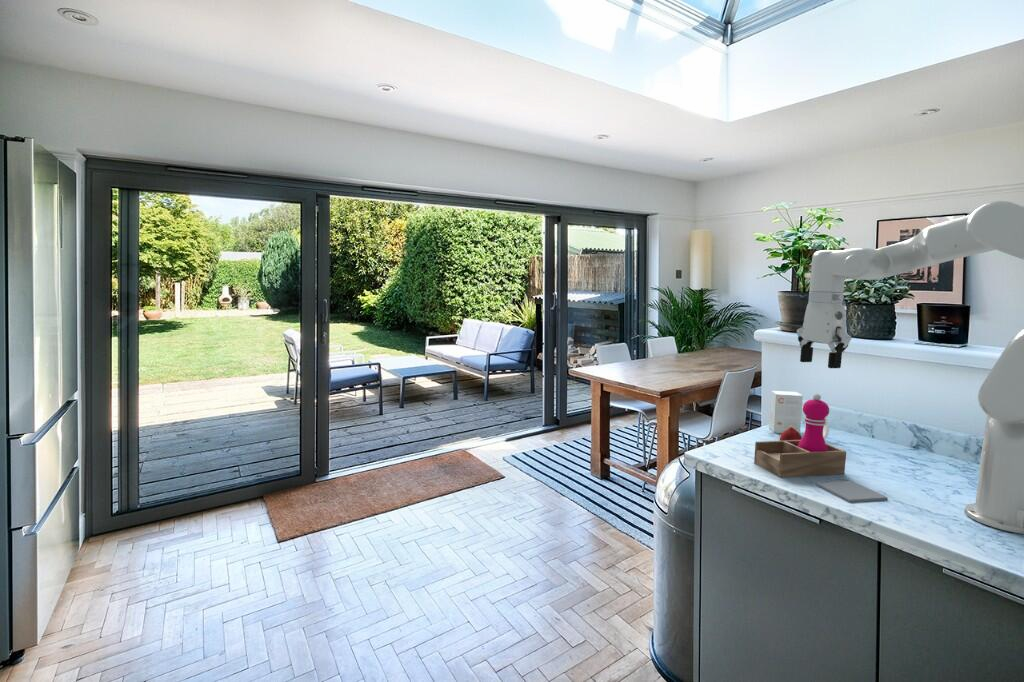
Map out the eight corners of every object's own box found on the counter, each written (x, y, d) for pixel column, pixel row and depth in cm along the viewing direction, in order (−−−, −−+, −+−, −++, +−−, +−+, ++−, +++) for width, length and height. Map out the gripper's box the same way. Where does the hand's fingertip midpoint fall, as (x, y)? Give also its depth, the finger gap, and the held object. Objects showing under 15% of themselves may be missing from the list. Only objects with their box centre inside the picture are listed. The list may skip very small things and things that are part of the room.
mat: (887, 499, 118) (887, 497, 118) (849, 502, 116) (849, 499, 116) (851, 483, 128) (851, 480, 128) (815, 485, 126) (815, 482, 126)
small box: (794, 429, 175) (797, 391, 174) (800, 434, 169) (803, 395, 168) (768, 427, 177) (770, 390, 175) (773, 433, 171) (776, 394, 169)
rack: (844, 474, 134) (846, 451, 133) (780, 477, 131) (782, 454, 130) (813, 460, 144) (815, 439, 144) (754, 463, 141) (755, 441, 140)
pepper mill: (831, 473, 134) (838, 397, 132) (800, 471, 135) (806, 396, 133) (820, 464, 141) (826, 391, 139) (791, 462, 142) (797, 390, 140)
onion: (803, 452, 151) (806, 425, 150) (798, 457, 146) (800, 429, 146) (782, 448, 155) (784, 422, 154) (776, 452, 150) (778, 425, 149)
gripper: (866, 300, 126) (859, 370, 127) (813, 298, 142) (808, 359, 144) (839, 300, 124) (832, 370, 126) (789, 297, 141) (783, 359, 143)
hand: (819, 364), depth 135 cm, fingers open, 9 cm apart
